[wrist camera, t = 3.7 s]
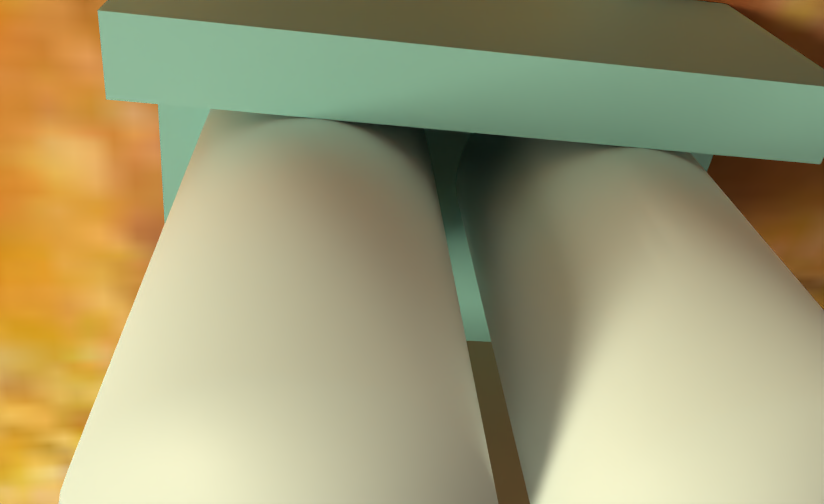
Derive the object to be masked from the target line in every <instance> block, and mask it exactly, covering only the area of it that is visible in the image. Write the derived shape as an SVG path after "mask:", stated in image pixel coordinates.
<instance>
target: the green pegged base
mask: <svg viewBox="0 0 824 504" xmlns="http://www.w3.org/2000/svg"><path fill="white" fill-rule="evenodd" d="M98 19H99V30H100V40H101V51H102V61H103V71H104V82H105V92H106V99H108V100H119V101H130V102H141V103H152V104H158V112H159V130H160V148H161V165H162V183H163V201H164V218H165V225H164V228H163V230H162V233H161V235H160V238H159V240H158V243H157V245H156V248H155V250H154V253H153V256H152V258H151V261H150V263H149V266H148V268H147V271H146V273H145V276H144V278H143V281H142V283H141V286H140V289H139V291H138V294H137V296H136V299H135V301H134V304H133V306H132V309H131V311H130V314H129V316H128V319H127V322H126V324H125V327H124V329H123V332H122V334H121V337H120V339H119V342H118V344H117V347H116V350H115V352H114V355H113V357H112V360H111V362H110V365H109V367H108V370H107V372H106V375H105V377H104V380H103V383H102V385H101V388H100V390H99V393H98V395H97V398H96V400H95V403H94V405H93V408H92V410H91V413H90V416H89V418H88V421H87V423H86V426H85V428H84V431H83V433H82V436H81V438H80V441H79V444H78V446H77V449H76V451H75V454H74V456H73V459H72V461H71V464H70V466H69V469H68V471H67V474H66V477H65V480H64V483H63V485H62V488H61V491H60V498H59V504H824V310H823V309H822V308H821V306H820V305H819V304H818V303H817V302H816V301H815V299H814V298H813V297H812V296H811V295H810V294H809V292H808V291H807V290H806V289H805V288H804V286H803V285H802V284H801V283H800V282H799V281H798V279H797V278H796V277H795V276H794V275H793V273H792V272H791V271H790V270H789V269H788V268H787V266H786V265H785V264H784V263H783V262H782V260H781V259H780V258H779V257H778V256H777V255H776V253H775V252H774V251H773V250H772V249H771V247H770V246H769V245H768V244H767V243H766V242H765V240H764V239H763V238H762V237H761V236H760V235H759V233H758V232H757V231H756V230H755V229H754V227H753V226H752V225H751V224H750V223H749V222H748V220H747V219H746V218H745V217H744V216H743V214H742V213H741V212H740V211H739V210H738V209H737V207H736V206H735V205H734V204H733V203H732V201H731V200H730V199H729V198H728V197H727V196H726V194H725V193H724V192H723V191H722V190H721V189H720V187H719V186H718V185H717V184H716V183H715V181H714V180H713V179H712V178H711V177H710V176H709V174H708V173H707V170H708V167H709V165H710V162H711V159H712V157H713V155H724V156H735V157H746V158H757V159H768V160H779V161H790V162H801V163H812V164H821V162H822V160H823V158H824V69H823V68H822V67H820V66H819V65H817V64H816V63H814V62H813V61H811V60H810V59H808V58H807V57H805V56H804V55H802V54H801V53H799V52H798V51H796V50H795V49H793V48H792V47H790V46H789V45H787V44H786V43H784V42H783V41H781V40H780V39H778V38H777V37H775V36H774V35H772V34H771V33H769V32H768V31H766V30H765V29H763V28H762V27H760V26H759V25H757V24H756V23H754V22H753V21H751V20H750V19H748V18H747V17H745V16H744V15H742V14H741V13H739V12H738V11H736V10H735V9H733V8H732V7H730V6H729V5H727V4H723V3H715V2H706V1H698V0H107V1H106V2H105V3H104V4H103V5H102V6H101V7H100V9H99V10H98Z"/></svg>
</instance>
